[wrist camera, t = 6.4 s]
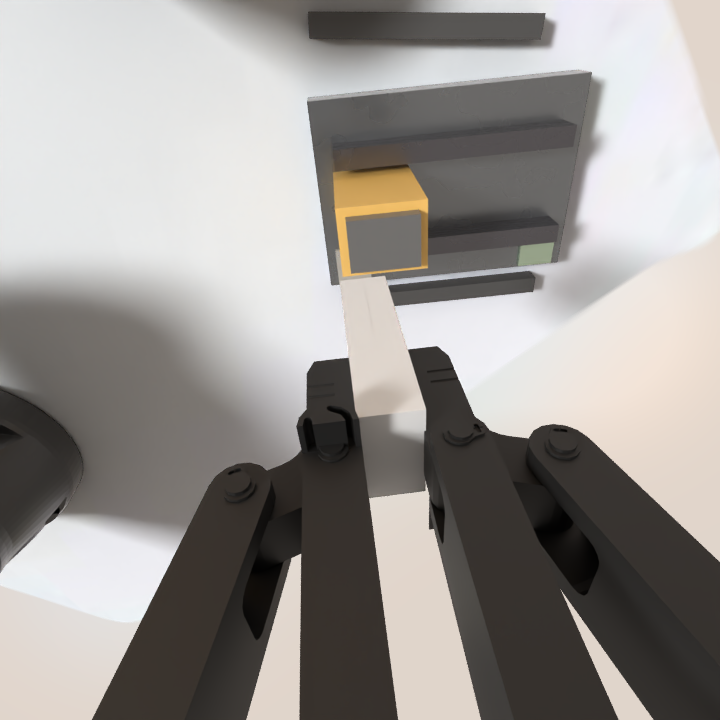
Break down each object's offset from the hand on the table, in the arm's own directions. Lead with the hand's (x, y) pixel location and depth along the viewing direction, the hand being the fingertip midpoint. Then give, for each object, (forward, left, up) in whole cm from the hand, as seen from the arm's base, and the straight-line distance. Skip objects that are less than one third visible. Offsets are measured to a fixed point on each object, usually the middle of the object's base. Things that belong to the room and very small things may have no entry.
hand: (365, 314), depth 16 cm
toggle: (+1, 0, -12) cm, 12 cm away
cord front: (+4, +8, -14) cm, 16 cm away
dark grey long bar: (+5, -7, -14) cm, 16 cm away
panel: (+5, 0, -14) cm, 15 cm away
